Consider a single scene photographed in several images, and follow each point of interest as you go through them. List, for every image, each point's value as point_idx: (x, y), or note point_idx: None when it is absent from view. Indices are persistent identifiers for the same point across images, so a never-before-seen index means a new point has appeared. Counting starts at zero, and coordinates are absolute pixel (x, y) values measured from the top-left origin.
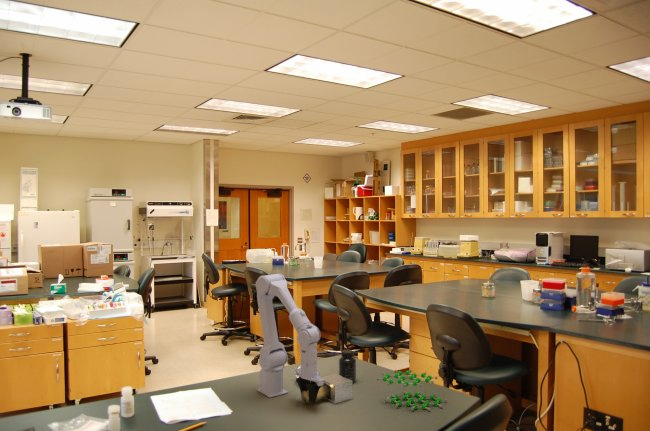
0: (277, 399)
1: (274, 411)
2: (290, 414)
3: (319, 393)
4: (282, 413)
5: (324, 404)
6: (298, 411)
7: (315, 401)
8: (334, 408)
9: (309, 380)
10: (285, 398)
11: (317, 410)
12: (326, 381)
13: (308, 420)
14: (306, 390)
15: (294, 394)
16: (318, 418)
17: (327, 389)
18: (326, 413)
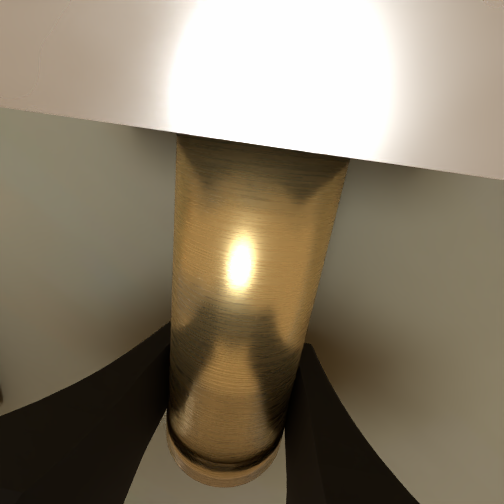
0: (43, 391)
1: (186, 494)
2: (280, 482)
3: (306, 327)
4: (236, 492)
5: (345, 249)
6: (283, 438)
7: (312, 350)
8: (488, 253)
9: (68, 479)
10: (52, 354)
11: (378, 366)
12: (237, 136)
13: (430, 488)
14: (208, 464)
15: (11, 266)
16: (473, 446)
17: (332, 192)
18: (479, 365)
